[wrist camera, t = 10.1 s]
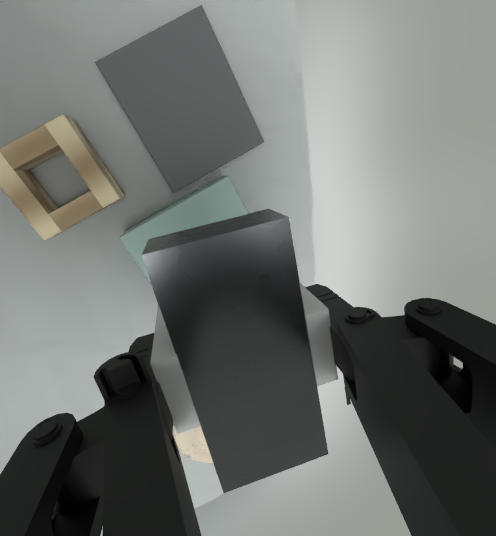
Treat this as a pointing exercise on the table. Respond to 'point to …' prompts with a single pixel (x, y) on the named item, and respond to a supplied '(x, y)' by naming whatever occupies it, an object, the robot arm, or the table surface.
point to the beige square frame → (31, 192)
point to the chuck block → (185, 216)
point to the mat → (182, 98)
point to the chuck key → (241, 342)
